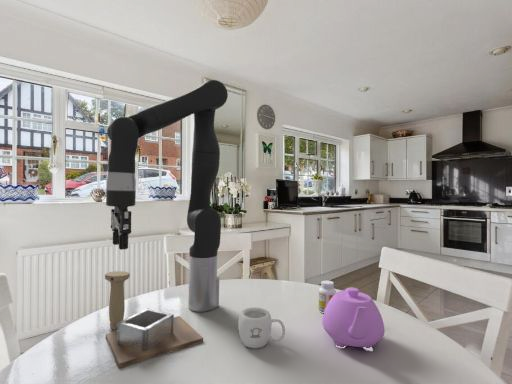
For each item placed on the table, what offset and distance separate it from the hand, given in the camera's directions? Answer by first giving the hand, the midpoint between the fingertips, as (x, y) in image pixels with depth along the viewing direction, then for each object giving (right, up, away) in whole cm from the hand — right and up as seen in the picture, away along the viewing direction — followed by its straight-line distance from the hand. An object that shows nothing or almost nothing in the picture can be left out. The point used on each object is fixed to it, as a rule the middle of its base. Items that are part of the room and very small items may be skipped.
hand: (119, 246), depth 83 cm
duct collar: (+10, -23, -8) cm, 26 cm away
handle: (-1, -23, 0) cm, 23 cm away
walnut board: (+12, -23, -7) cm, 27 cm away
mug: (+40, -24, -8) cm, 47 cm away
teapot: (+64, -24, -6) cm, 68 cm away
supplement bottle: (+62, -24, +13) cm, 68 cm away
